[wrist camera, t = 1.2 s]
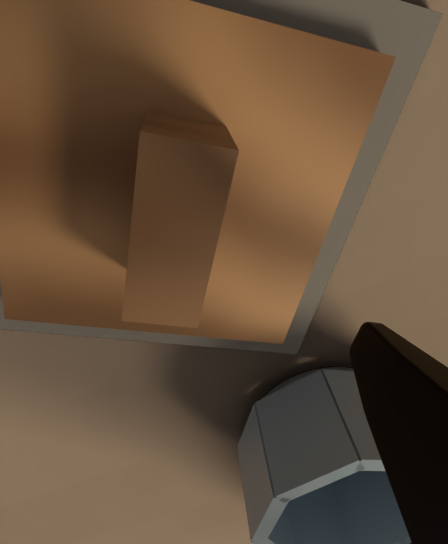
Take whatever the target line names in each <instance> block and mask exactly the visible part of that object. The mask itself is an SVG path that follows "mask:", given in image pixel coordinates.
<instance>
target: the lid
mask: <svg viewBox="0 0 448 544" xmlns="http://www.w3.org/2000/svg"><path fill="white" fill-rule="evenodd" d="M395 59H396V57H395V56H391V55H388V54H384V53H380V52H377V51H373V50H369V49H366V48H362V47H358V46H355V45H351V44H348V43H344V42H340V41H337V40H333V39H329V38H326V37H322V36H318V35H315V34H311V33H307V32H304V31H300V30H296V29H293V28H289V27H285V26H282V25H278V24H274V23H271V22H267V21H263V20H260V19H256V18H252V17H249V16H245V15H241V14H238V13H234V12H230V11H227V10H223V9H220V8H216V7H212V6H209V5H205V4H201V3H198V2H194V1H190V0H0V281H1V290H2V300H3V309H4V318H5V319H10V320H21V321H32V322H43V323H54V324H66V325H77V326H88V327H99V328H110V329H121V330H132V331H143V332H154V333H165V334H176V335H187V336H198V337H209V338H220V339H231V340H243V341H254V342H265V343H276V344H283V342H284V340H285V337H286V335H287V332H288V330H289V327H290V325H291V322H292V320H293V317H294V315H295V312H296V310H297V307H298V304H299V302H300V299H301V297H302V294H303V292H304V289H305V287H306V284H307V282H308V279H309V277H310V274H311V272H312V269H313V266H314V264H315V261H316V259H317V256H318V254H319V251H320V249H321V246H322V244H323V241H324V239H325V236H326V233H327V231H328V228H329V226H330V223H331V221H332V218H333V216H334V213H335V211H336V208H337V206H338V203H339V201H340V198H341V195H342V193H343V190H344V188H345V185H346V183H347V180H348V178H349V175H350V173H351V170H352V168H353V165H354V163H355V160H356V157H357V155H358V152H359V150H360V147H361V145H362V142H363V140H364V137H365V135H366V132H367V130H368V127H369V124H370V122H371V119H372V117H373V114H374V112H375V109H376V107H377V104H378V102H379V99H380V97H381V94H382V92H383V89H384V86H385V84H386V81H387V79H388V76H389V74H390V71H391V69H392V66H393V64H394V61H395Z"/></svg>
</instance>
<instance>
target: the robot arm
mask: <svg viewBox="0 0 448 544" xmlns="http://www.w3.org/2000/svg"><path fill="white" fill-rule="evenodd" d="M350 359H351V363H352V367H353V371H354V375H355V379H356V383H357V387H358V390H359V394H360V398H361V402H362V406H363V409H364V413H365V416H366V419H367V422H368V425H369V428H370V430H371V433H372V436H373V439H374V441H375V444H376V447H377V449H378V452H379V455H380V458H381V460H382V463H383V466H384V469H385V471H386V474H387V477H388V480H389V482H390V485H391V488H392V491H393V493H394V496H395V499H396V502H397V504H398V507H399V510H400V513H401V515H402V518H403V521H404V524H405V526H406V529H407V532H408V535H409V537H410V540H411V543H410V544H448V367H446V366H445V365H443V364H442V363H440V362H439V361H437V360H436V359H434V358H433V357H431V356H430V355H428V354H427V353H425V352H424V351H422V350H421V349H419V348H418V347H416V346H415V345H413V344H412V343H410V342H409V341H407V340H406V339H404V338H403V337H401V336H400V335H398V334H397V333H395V332H394V331H392V330H391V329H389V328H388V327H386V326H385V325H383V324H381V323H374V322H365V323H364V324H362V326H361V327H360V329H359V331H358V333H357V335H356V337H355V339H354V341H353V343H352V345H351V347H350Z"/></svg>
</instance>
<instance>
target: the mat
mask: <svg viewBox="0 0 448 544" xmlns="http://www.w3.org/2000/svg"><path fill="white" fill-rule="evenodd" d="M190 1H194V2H198V3H201V4H205V5H209V6H212V7H216V8H220V9H223V10H227V11H230V12H234V13H238V14H241V15H245V16H249V17H252V18H256V19H260V20H263V21H267V22H271V23H274V24H278V25H282V26H285V27H289V28H293V29H296V30H300V31H304V32H307V33H311V34H315V35H318V36H322V37H326V38H329V39H333V40H337V41H340V42H344V43H348V44H351V45H355V46H358V47H362V48H366V49H369V50H373V51H377V52H380V53H384V54H388V55H391V56H395V57H396V59H395V61H394V64H393V66H392V69H391V71H390V74H389V76H388V79H387V81H386V84H385V86H384V89H383V92H382V94H381V97H380V99H379V102H378V104H377V107H376V109H375V112H374V114H373V117H372V119H371V122H370V124H369V127H368V130H367V132H366V135H365V137H364V140H363V142H362V145H361V147H360V150H359V152H358V155H357V157H356V160H355V163H354V165H353V168H352V170H351V173H350V175H349V178H348V180H347V183H346V185H345V188H344V190H343V193H342V195H341V198H340V201H339V203H338V206H337V208H336V211H335V213H334V216H333V218H332V221H331V223H330V226H329V228H328V231H327V233H326V236H325V239H324V241H323V244H322V246H321V249H320V251H319V254H318V256H317V259H316V261H315V264H314V266H313V269H312V272H311V274H310V277H309V279H308V282H307V284H306V287H305V289H304V292H303V294H302V297H301V299H300V302H299V304H298V307H297V310H296V312H295V315H294V317H293V320H292V322H291V325H290V327H289V330H288V332H287V335H286V337H285V340H284V342H283V344H276V343H265V342H254V341H243V340H231V339H220V338H209V337H198V336H187V335H176V334H165V333H154V332H143V331H132V330H121V329H110V328H99V327H88V326H77V325H66V324H54V323H43V322H32V321H21V320H10V319H5V318H4V309H3V300H2V290H1V281H0V329H3V330H14V331H26V332H38V333H50V334H61V335H73V336H85V337H97V338H108V339H120V340H132V341H144V342H155V343H167V344H179V345H191V346H202V347H214V348H226V349H238V350H249V351H261V352H273V353H285V354H296V355H297V353H298V351H299V349H300V346H301V344H302V342H303V339H304V337H305V335H306V332H307V330H308V328H309V325H310V323H311V321H312V318H313V316H314V314H315V311H316V309H317V307H318V304H319V302H320V300H321V297H322V295H323V293H324V290H325V288H326V286H327V283H328V281H329V278H330V276H331V274H332V271H333V269H334V267H335V264H336V262H337V260H338V257H339V255H340V253H341V250H342V248H343V246H344V243H345V241H346V239H347V236H348V234H349V232H350V229H351V227H352V225H353V222H354V220H355V218H356V215H357V213H358V211H359V208H360V206H361V204H362V201H363V199H364V197H365V194H366V192H367V190H368V187H369V185H370V183H371V180H372V178H373V176H374V173H375V171H376V169H377V166H378V164H379V162H380V159H381V157H382V155H383V152H384V150H385V148H386V145H387V143H388V141H389V138H390V136H391V134H392V131H393V129H394V127H395V124H396V122H397V120H398V117H399V115H400V113H401V110H402V108H403V106H404V103H405V101H406V99H407V96H408V94H409V92H410V89H411V87H412V85H413V82H414V80H415V78H416V75H417V73H418V71H419V68H420V66H421V64H422V61H423V59H424V57H425V54H426V52H427V50H428V47H429V45H430V43H431V40H432V38H433V36H434V33H435V31H436V29H437V26H438V24H439V22H440V19H441V17H442V15H443V13H440V12H437V11H433V10H430V9H427V8H424V7H420V6H417V5H414V4H411V3H408V2H404V1H401V0H190Z"/></svg>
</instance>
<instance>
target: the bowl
mask: <svg viewBox="0 0 448 544" xmlns="http://www.w3.org/2000/svg"><path fill="white" fill-rule="evenodd" d="M237 450H238V457H239V464H240V471H241V478H242V484H243V491H244V498H245V505H246V512H247V518H248V525H249V532H250V539H251V543H253V544H410V543H411V540H410V537H409V535H408V532H407V529H406V526H405V524H404V521H403V518H402V515H401V513H400V510H399V507H398V504H397V502H396V499H395V496H394V493H393V491H392V488H391V485H390V482H389V480H388V477H387V474H386V471H385V469H384V466H383V463H382V460H381V458H380V455H379V452H378V449H377V447H376V444H375V441H374V439H373V436H372V433H371V430H370V428H369V425H368V422H367V419H366V416H365V413H364V409H363V406H362V402H361V398H360V394H359V390H358V387H357V383H356V379H355V375H354V371H353V368H347V367H327V368H320V369H315V370H311V371H307V372H304V373H301V374H298V375H296V376H294V377H291V378H289V379H287V380H285V381H284V382H282V383H280V384H279V385H277V386H276V387H274V388H273V389H272V390H271V391H269V392H268V393H267V394H266V395H265V396H264V397H263V398H262V399H261V400H259V401H257V402H255V404H253V407H252V410H251V412H250V415H249V417H248V420H247V423H246V425H245V428H244V430H243V433H242V436H241V438H240V441H239V444H238V446H237Z"/></svg>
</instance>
